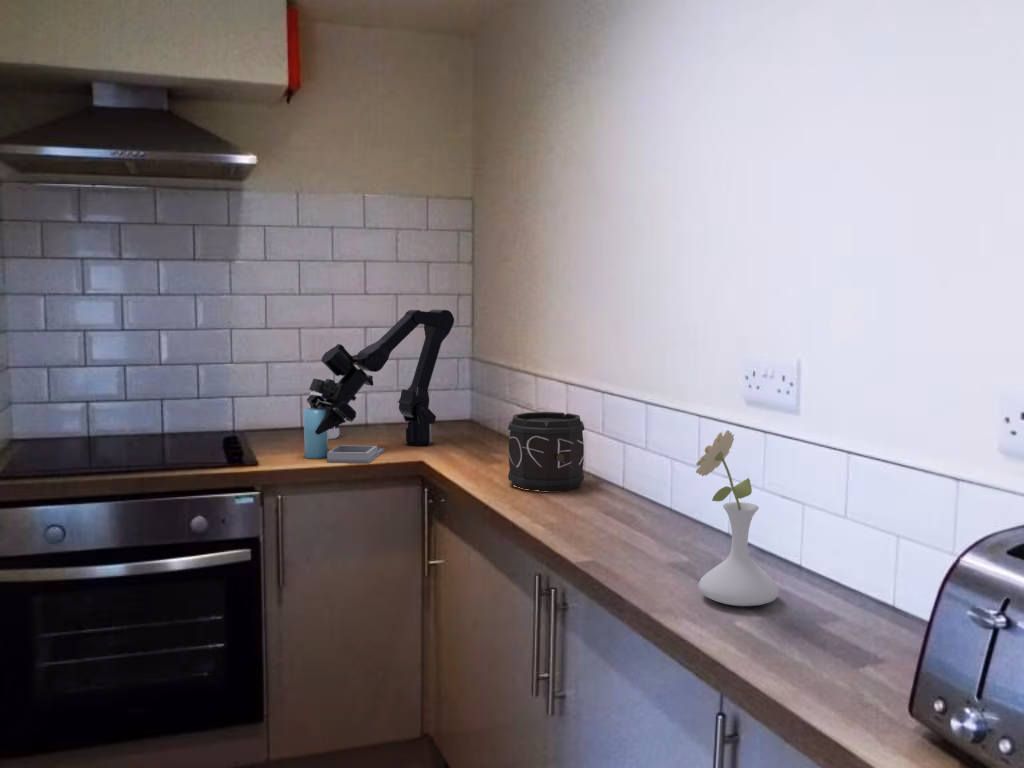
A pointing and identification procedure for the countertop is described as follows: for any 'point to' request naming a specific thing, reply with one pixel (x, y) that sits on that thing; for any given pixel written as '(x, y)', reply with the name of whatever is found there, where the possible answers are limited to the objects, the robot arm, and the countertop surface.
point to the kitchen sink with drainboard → (353, 454)
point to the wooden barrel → (546, 451)
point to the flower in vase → (735, 541)
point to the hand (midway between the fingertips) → (310, 432)
